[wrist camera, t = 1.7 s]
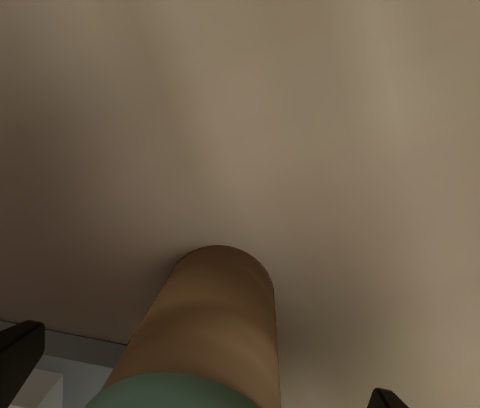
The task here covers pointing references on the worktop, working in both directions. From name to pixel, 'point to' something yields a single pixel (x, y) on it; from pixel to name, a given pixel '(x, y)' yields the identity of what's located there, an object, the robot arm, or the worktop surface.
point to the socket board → (67, 371)
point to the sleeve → (202, 340)
